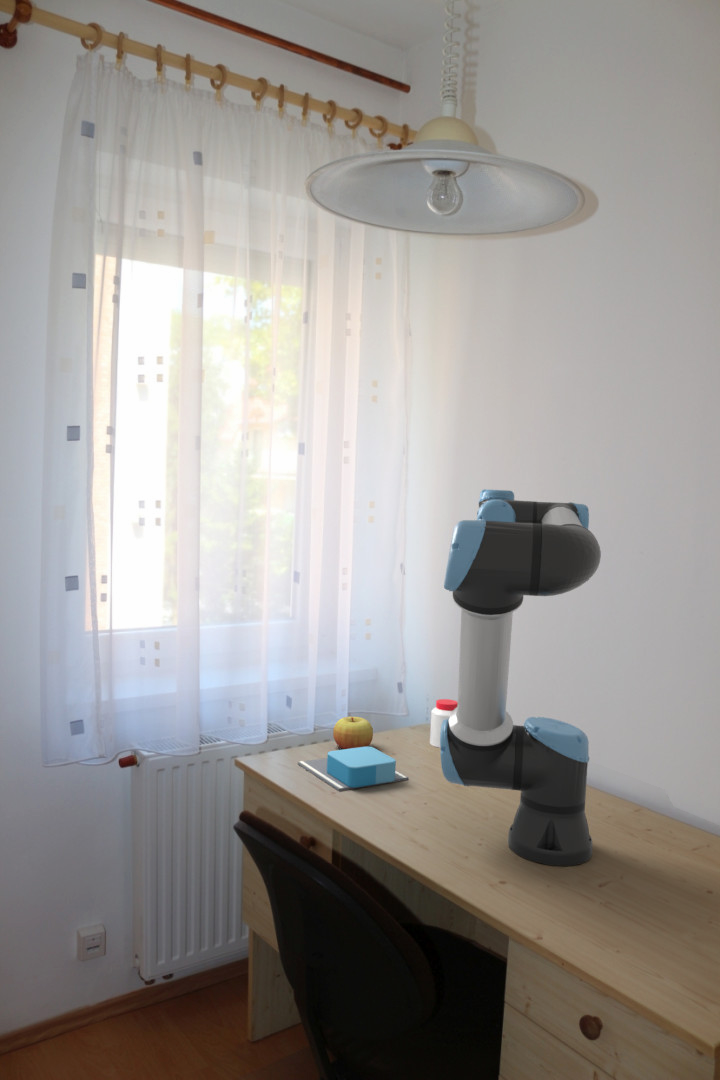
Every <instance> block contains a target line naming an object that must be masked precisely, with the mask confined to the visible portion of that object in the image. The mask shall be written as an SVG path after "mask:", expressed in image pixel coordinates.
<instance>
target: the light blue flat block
mask: <svg viewBox="0 0 720 1080" xmlns="http://www.w3.org/2000/svg"><path fill="white" fill-rule="evenodd" d="M326 756H327V757H326V758H327V773H328V774H330V775H331V776H333V777H335V778H336V779H338V780H339V781H341V782H342V783H344V784H345V785H347V786H349V787H360V788H363V787H362V786H366V787H369V786H368V785H372V786H375V785H374V784H379V785H381V784H380V783H385V784H388V783H387V782H391V783H393V782H392V781H394V780H395V770H396V767H397V766H396V765H397V764H396V763H397V760H396V759H395V758H393V756H392V757H391V756H389V755H388V754H385V753H384V752H383V751H380V750H378V749H377V748H375V747H373V746H368V747H358V748H351V749H338V750H337V749H336V750H330V751H328V752H327V755H326Z"/></svg>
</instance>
